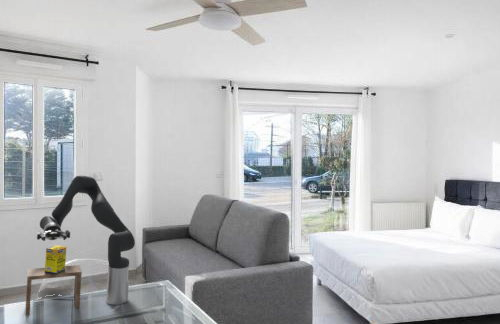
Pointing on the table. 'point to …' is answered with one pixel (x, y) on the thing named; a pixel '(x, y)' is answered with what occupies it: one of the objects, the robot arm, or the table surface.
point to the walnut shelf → (40, 274)
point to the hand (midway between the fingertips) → (54, 238)
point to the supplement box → (55, 259)
